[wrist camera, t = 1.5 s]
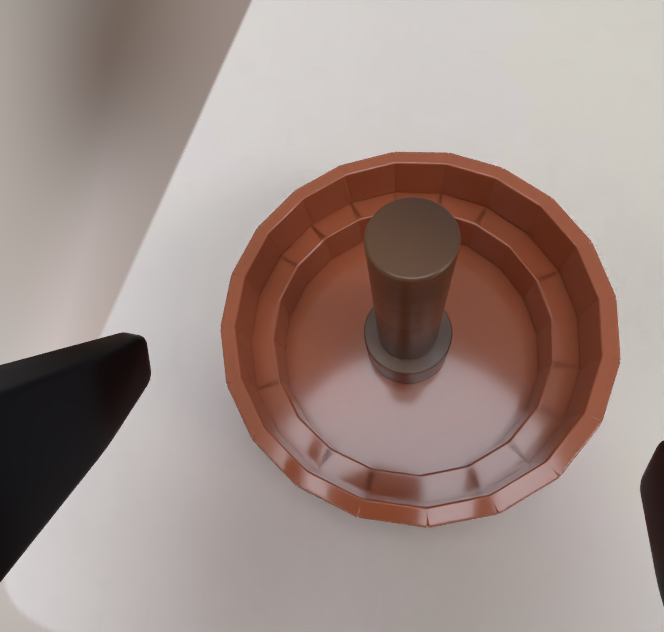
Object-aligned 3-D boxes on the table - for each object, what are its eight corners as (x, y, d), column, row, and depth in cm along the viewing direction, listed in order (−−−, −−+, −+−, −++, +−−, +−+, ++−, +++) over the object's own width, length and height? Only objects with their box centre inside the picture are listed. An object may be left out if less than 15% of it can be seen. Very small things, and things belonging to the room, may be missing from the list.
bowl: (428, 594, 18) (437, 633, 14) (201, 362, 23) (149, 332, 18) (636, 333, 21) (706, 290, 16) (391, 168, 25) (388, 97, 20)
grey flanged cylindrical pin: (412, 400, 20) (421, 334, 11) (350, 347, 21) (311, 246, 12) (464, 340, 21) (517, 227, 11) (402, 291, 22) (403, 152, 12)
